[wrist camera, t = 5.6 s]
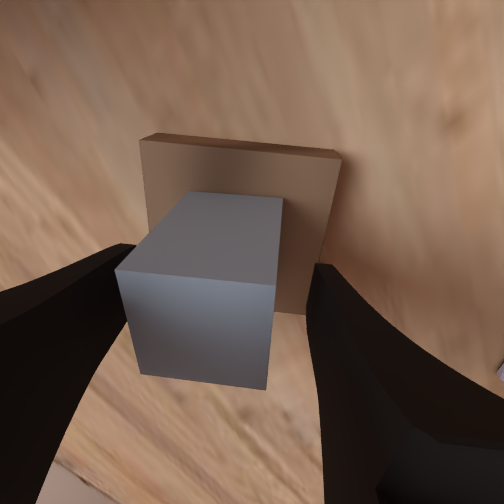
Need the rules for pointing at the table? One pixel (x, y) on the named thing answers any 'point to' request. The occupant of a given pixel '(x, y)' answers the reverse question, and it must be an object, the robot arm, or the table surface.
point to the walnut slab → (251, 193)
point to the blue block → (205, 290)
